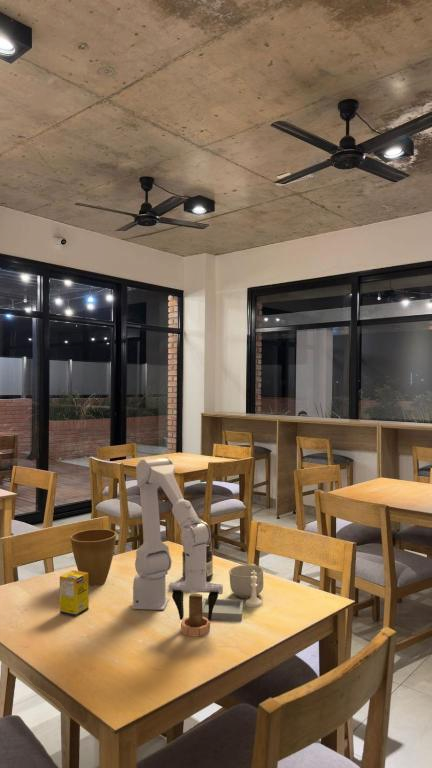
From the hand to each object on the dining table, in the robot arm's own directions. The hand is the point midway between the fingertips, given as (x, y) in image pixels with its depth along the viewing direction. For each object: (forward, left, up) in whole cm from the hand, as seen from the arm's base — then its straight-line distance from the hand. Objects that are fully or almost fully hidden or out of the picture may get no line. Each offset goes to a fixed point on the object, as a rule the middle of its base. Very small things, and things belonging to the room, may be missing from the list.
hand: (195, 618), depth 147 cm
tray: (+6, +12, -3) cm, 14 cm away
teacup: (+13, +27, -3) cm, 30 cm away
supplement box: (-37, +8, -3) cm, 38 cm away
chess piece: (+15, +19, -3) cm, 24 cm away
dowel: (0, 0, -3) cm, 3 cm away
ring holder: (0, 0, -3) cm, 3 cm away
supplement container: (-5, +39, -3) cm, 39 cm away
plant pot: (-39, +31, -3) cm, 50 cm away
